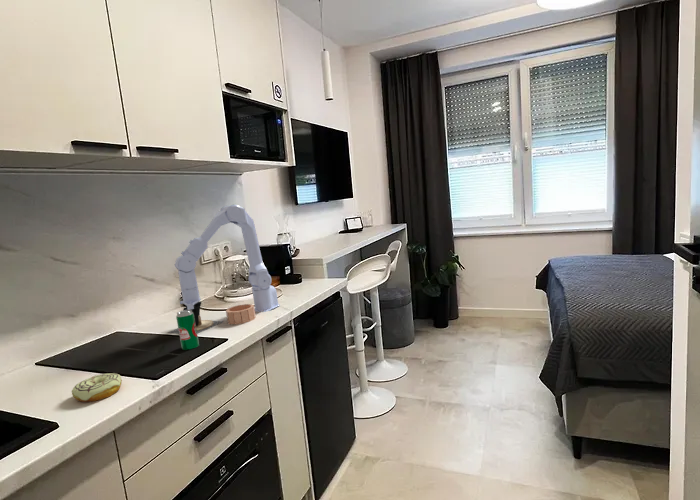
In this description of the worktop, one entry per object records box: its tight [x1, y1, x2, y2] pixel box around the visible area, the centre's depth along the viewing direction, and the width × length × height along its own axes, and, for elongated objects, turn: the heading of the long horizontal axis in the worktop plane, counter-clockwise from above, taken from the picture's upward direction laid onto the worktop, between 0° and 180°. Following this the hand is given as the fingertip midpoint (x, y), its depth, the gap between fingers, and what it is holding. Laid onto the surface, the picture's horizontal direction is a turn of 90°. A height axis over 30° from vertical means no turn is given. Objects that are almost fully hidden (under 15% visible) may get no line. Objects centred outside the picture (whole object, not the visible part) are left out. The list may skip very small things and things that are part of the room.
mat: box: [167, 320, 225, 335], centre depth 147 cm, size 14×14×1 cm
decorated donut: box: [71, 372, 123, 403], centre depth 100 cm, size 10×11×4 cm
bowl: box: [225, 303, 257, 325], centre depth 149 cm, size 10×10×5 cm
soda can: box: [175, 310, 200, 351], centre depth 125 cm, size 5×5×12 cm
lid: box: [196, 315, 214, 331], centre depth 147 cm, size 12×12×4 cm
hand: (195, 324), depth 147 cm, fingers closed on lid, 4 cm apart
